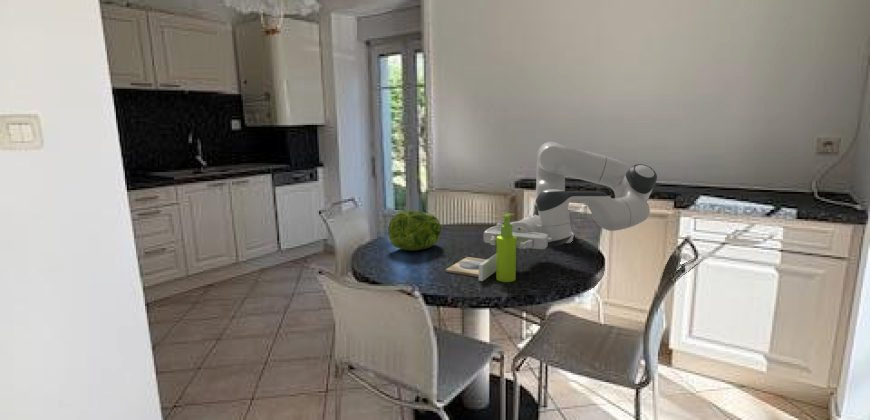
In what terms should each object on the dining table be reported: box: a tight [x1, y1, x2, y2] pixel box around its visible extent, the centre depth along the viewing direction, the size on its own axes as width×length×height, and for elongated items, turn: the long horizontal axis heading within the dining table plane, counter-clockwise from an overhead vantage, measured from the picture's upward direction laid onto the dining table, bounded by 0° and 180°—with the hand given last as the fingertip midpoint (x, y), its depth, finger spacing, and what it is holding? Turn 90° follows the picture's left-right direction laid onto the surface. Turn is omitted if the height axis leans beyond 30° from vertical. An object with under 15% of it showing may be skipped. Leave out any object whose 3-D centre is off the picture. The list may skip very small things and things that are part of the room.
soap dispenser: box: [495, 212, 517, 283], centre depth 143 cm, size 6×7×20 cm
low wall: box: [478, 253, 496, 282], centre depth 151 cm, size 20×1×5 cm, turn 151°
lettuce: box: [387, 210, 443, 252], centre depth 179 cm, size 16×21×15 cm
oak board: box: [445, 256, 487, 278], centre depth 156 cm, size 16×12×1 cm
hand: (507, 244), depth 142 cm, fingers open, 8 cm apart
